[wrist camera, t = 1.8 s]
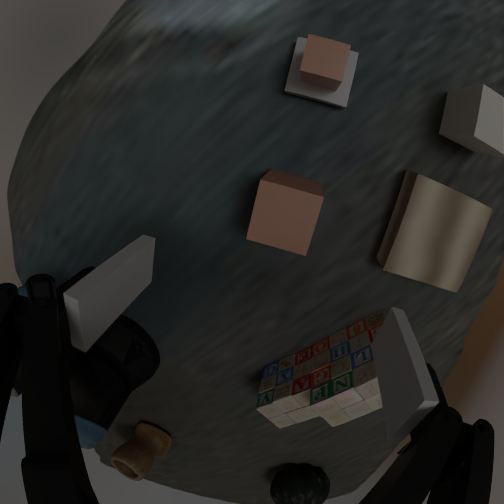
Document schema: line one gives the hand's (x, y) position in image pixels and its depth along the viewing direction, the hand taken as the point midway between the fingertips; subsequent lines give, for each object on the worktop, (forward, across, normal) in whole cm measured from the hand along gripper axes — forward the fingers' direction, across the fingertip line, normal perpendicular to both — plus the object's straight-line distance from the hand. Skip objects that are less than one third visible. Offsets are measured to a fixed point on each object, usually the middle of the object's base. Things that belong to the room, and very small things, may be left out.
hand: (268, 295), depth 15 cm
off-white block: (+23, +19, +17) cm, 34 cm away
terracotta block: (+23, 0, 0) cm, 23 cm away
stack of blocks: (+23, +13, -21) cm, 34 cm away
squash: (+23, +23, -63) cm, 71 cm away
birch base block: (+23, +19, +2) cm, 30 cm away
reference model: (+23, 0, +16) cm, 28 cm away
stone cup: (+23, -17, -66) cm, 72 cm away
